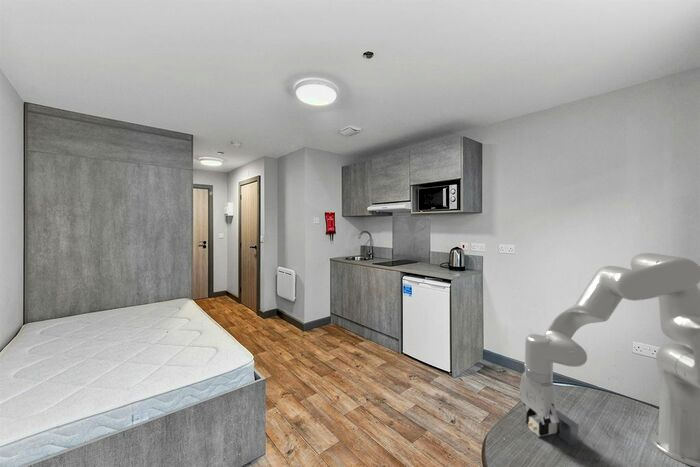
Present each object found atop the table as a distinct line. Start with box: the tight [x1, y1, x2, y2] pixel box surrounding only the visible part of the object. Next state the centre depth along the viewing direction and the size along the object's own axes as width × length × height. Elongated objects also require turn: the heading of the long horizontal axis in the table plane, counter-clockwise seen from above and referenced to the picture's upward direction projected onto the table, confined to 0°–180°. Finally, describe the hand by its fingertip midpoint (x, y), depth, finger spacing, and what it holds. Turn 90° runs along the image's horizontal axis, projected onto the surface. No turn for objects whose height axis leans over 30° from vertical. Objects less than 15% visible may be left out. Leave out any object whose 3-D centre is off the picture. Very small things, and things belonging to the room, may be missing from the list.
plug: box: [527, 414, 560, 438], centre depth 94 cm, size 12×4×4 cm, turn 102°
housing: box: [536, 409, 579, 446], centre depth 94 cm, size 3×14×6 cm, turn 13°
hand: (537, 428), depth 93 cm, fingers closed on plug, 4 cm apart
